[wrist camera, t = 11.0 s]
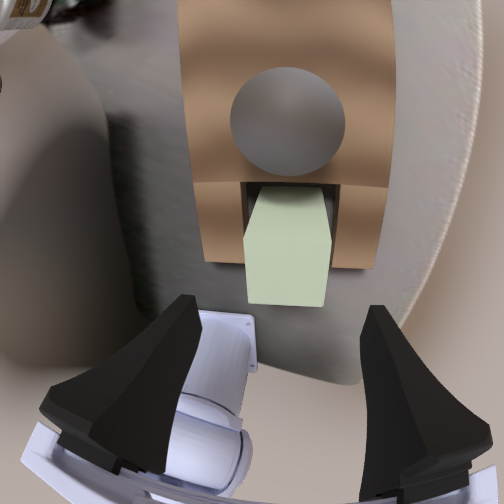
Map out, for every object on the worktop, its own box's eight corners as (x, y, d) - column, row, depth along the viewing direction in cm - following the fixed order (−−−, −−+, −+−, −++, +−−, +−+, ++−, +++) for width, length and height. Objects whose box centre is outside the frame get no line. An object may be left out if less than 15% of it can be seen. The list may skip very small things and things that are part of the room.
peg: (321, 187, 18) (331, 242, 12) (318, 239, 20) (323, 306, 14) (261, 186, 19) (243, 238, 13) (263, 237, 21) (248, 303, 15)
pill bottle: (55, 10, 11) (-13, 11, 5) (27, 36, 12) (-36, 46, 6) (54, -21, 9) (-9, -25, 2) (25, 6, 10) (-34, 10, 4)
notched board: (367, 253, 20) (372, 268, 18) (212, 246, 22) (205, 261, 20) (377, -18, 9) (386, -28, 7) (188, -15, 11) (176, -24, 9)
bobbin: (333, 159, 15) (342, 178, 12) (246, 157, 16) (233, 175, 13) (334, 74, 12) (345, 69, 9) (241, 73, 13) (226, 69, 10)
